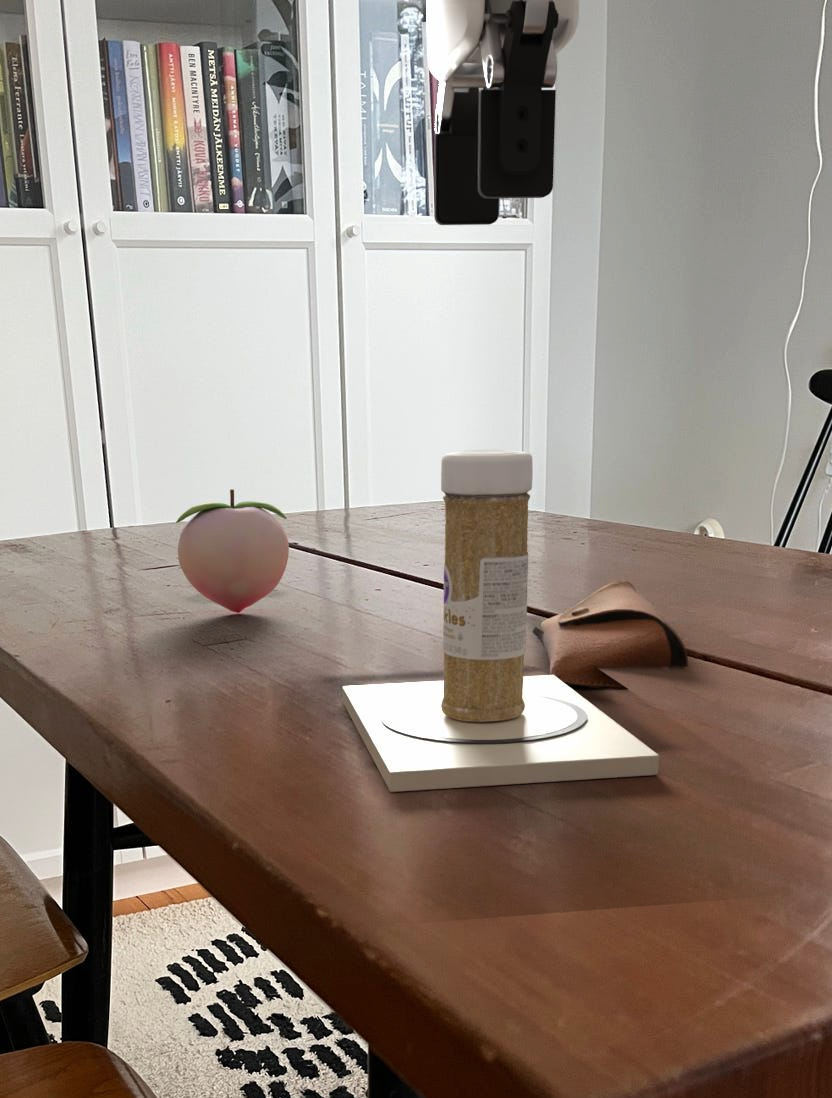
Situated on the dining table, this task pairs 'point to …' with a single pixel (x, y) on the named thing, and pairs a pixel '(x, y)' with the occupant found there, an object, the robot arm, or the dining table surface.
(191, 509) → the decorative fruit
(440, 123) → the robot arm
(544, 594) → the dining table surface
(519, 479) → the sprinkles bottle
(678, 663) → the sunglasses case
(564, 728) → the white flat block
